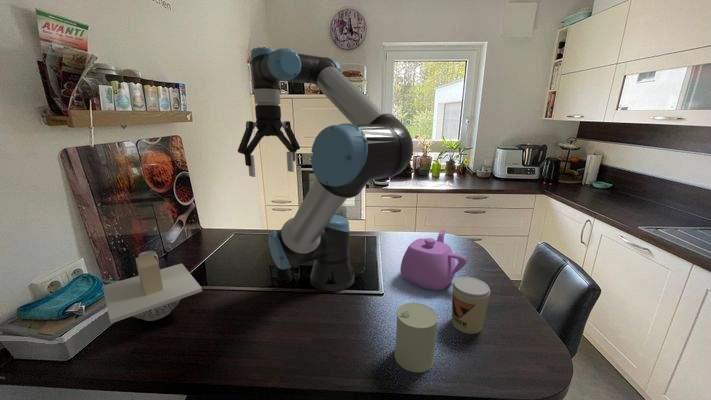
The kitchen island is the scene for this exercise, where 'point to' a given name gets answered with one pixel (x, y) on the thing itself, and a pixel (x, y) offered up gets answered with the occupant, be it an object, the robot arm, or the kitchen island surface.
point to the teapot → (430, 263)
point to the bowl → (157, 312)
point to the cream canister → (469, 304)
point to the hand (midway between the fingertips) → (272, 173)
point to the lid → (148, 289)
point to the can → (415, 337)
